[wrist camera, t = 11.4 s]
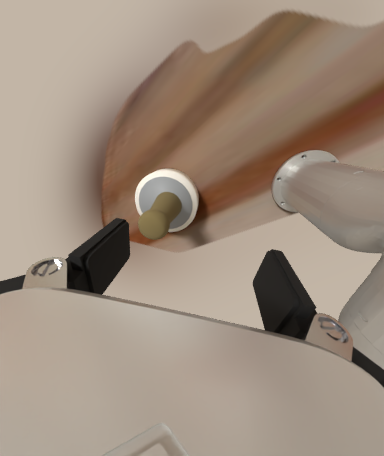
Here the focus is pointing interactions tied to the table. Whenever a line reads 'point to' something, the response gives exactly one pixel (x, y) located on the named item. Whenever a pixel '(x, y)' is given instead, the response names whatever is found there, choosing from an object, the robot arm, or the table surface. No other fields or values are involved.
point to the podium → (175, 184)
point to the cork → (160, 216)
